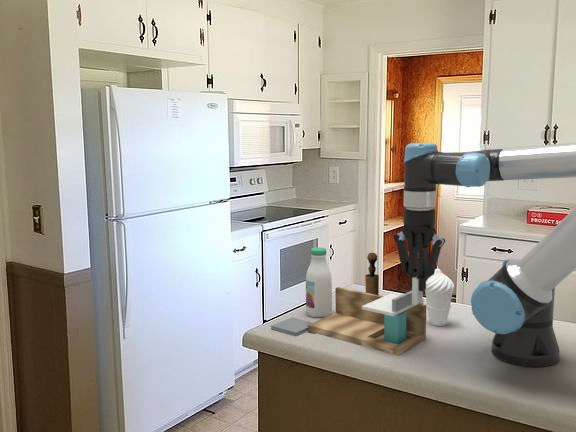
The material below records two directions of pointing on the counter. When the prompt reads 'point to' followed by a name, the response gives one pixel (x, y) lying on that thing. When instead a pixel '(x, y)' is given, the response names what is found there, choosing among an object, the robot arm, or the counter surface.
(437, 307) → the soft serve ice cream cone
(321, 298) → the milk bottle
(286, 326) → the coaster
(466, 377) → the counter surface
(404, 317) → the block
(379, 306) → the lid
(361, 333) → the brown piece
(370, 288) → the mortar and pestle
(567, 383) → the counter surface
